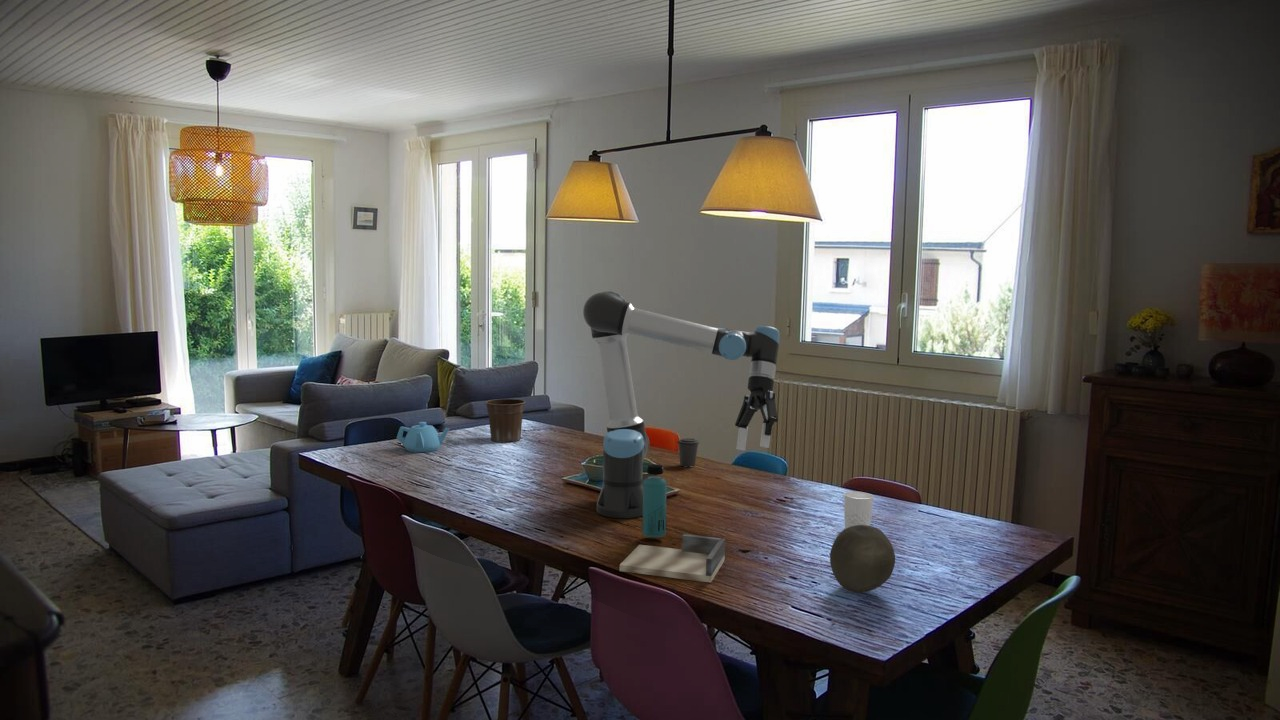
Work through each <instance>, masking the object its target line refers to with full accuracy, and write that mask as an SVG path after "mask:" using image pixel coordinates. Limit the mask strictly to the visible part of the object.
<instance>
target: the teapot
mask: <svg viewBox="0 0 1280 720" xmlns="http://www.w3.org/2000/svg"><path fill="white" fill-rule="evenodd" d="M449 431H450V428H449V427H445V429H443V432H441V434H439V433H438V431H437V429H436V428H435V426H433V425H430V424H427V421H419V422H418V424H417V425H412V426H411V427H406V426H402V425H401V426H400V427H399V429H398V432H397V436H396V440H398V441H399V442H400V444H402V445H403V447H404V448H405V449H406V451H407V452H409V453H410V452H412V453H431V452H435V451H437V450H439V448H440V447H441V446H442V444H443V442H444V440H445V438H446V436H447V434H448V432H449ZM404 432H407V433H406V435H405V436H403V435H404Z"/></svg>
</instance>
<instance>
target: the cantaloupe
mask: <svg viewBox="0 0 1280 720" xmlns="http://www.w3.org/2000/svg"><path fill="white" fill-rule="evenodd" d="M829 561H830V563H829V564H830V569H831V571H832V574H833V576H834V578H835V580H836V581H837V583H838V584H839V585H840V586H841V587H842V588H843V589H845V590H847V591H849V592H852V593H856V594H857V593H858V594H859V593H860V594H862V593H869V592H871V591H873V590H876V589H878V588H879V587H881V586H882V585H884V584H885V583H886V582H887V581H888V580H889V579H890V578H891V576H892V574H893V572H894V568H895V564H896V553H895V549H894V547H893V544H892V542H891V541H890V539H889V538H888V537H887V535H886V534H885V533H884V532H883V531H882V530H881V529H880V528H877V527H875V526H873V525H870V526H868V525H855V526H851V527H848V528H846V529H845V528H844V529H843V530H842V531H840V533H839V534H838V535H837V536H836V538H835V539H834V541H833V543H832V545H831V548H830V553H829Z"/></svg>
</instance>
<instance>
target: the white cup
mask: <svg viewBox="0 0 1280 720" xmlns="http://www.w3.org/2000/svg"><path fill="white" fill-rule="evenodd" d="M843 496H844V498H843V500H844V501H843V503H844V505H843V506H844V507H843V511H844V513H843V515H844V517H843V518H844V530H845V529H846V528H848V527H851V526H855V525H868V526H871V523H872V517H873V515H872V514H873V507H874V495H873V494H872V493H868V492H863V491H846V492H844V494H843Z"/></svg>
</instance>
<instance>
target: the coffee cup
mask: <svg viewBox="0 0 1280 720" xmlns="http://www.w3.org/2000/svg"><path fill="white" fill-rule="evenodd" d="M677 443H678V452H679V453H678V455H679V464H680V465H681V466H686V467H690V466H696V463H697V462H696V460H697V453H698V445H699V444H700V442H699V440H697V439H696V438H689V437H688V438H687V437H686V438H681V439H679V440H677ZM681 466H680V467H681Z"/></svg>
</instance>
